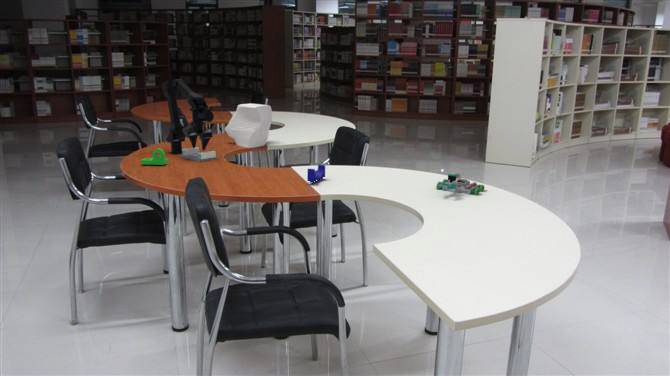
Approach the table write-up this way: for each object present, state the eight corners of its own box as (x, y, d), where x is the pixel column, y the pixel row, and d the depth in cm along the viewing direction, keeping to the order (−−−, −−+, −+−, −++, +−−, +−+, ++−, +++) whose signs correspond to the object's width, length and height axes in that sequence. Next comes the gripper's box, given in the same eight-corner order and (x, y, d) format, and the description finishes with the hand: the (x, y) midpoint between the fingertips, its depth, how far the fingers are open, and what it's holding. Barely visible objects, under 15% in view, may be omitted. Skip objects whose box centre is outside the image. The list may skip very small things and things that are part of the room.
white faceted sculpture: (251, 151, 317) (250, 107, 311) (223, 145, 335) (222, 103, 329) (279, 148, 332) (278, 105, 326) (251, 142, 350) (250, 101, 344)
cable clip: (316, 176, 258) (316, 164, 256) (325, 177, 256) (325, 165, 254) (304, 181, 247) (304, 168, 246) (313, 182, 245) (313, 169, 244)
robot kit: (423, 197, 224) (424, 175, 222) (446, 186, 245) (447, 165, 243) (467, 205, 215) (469, 181, 212) (487, 192, 235) (489, 171, 233)
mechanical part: (168, 162, 282) (167, 147, 280) (163, 164, 276) (162, 149, 274) (145, 161, 283) (144, 146, 281) (140, 164, 277) (139, 148, 275)
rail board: (180, 156, 297) (179, 149, 296) (199, 154, 305) (198, 146, 304) (198, 161, 285) (198, 153, 284) (218, 159, 293) (218, 151, 292)
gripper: (174, 119, 291) (176, 148, 294) (194, 123, 278) (195, 153, 282) (192, 118, 299) (194, 146, 302) (212, 121, 286) (213, 150, 290)
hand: (198, 149), depth 294 cm, fingers open, 9 cm apart
